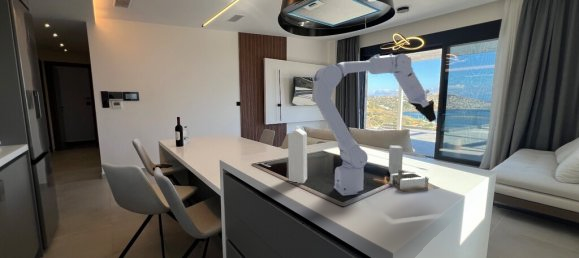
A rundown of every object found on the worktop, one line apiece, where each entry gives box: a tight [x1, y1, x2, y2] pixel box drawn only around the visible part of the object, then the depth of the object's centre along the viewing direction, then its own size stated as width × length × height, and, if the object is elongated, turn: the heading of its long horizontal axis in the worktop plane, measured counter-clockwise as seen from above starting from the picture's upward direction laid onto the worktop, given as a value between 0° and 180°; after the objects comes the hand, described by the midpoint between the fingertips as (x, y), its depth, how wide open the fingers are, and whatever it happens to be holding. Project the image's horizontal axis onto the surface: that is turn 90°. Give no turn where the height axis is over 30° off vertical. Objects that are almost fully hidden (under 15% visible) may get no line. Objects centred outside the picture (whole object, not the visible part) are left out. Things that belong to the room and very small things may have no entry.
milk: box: [287, 124, 308, 184], centre depth 97 cm, size 6×6×22 cm
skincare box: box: [388, 144, 404, 175], centre depth 103 cm, size 6×4×12 cm
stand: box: [387, 169, 440, 193], centre depth 88 cm, size 14×9×7 cm, turn 102°
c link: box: [389, 171, 430, 192], centre depth 88 cm, size 10×7×4 cm
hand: (429, 116), depth 89 cm, fingers open, 7 cm apart
